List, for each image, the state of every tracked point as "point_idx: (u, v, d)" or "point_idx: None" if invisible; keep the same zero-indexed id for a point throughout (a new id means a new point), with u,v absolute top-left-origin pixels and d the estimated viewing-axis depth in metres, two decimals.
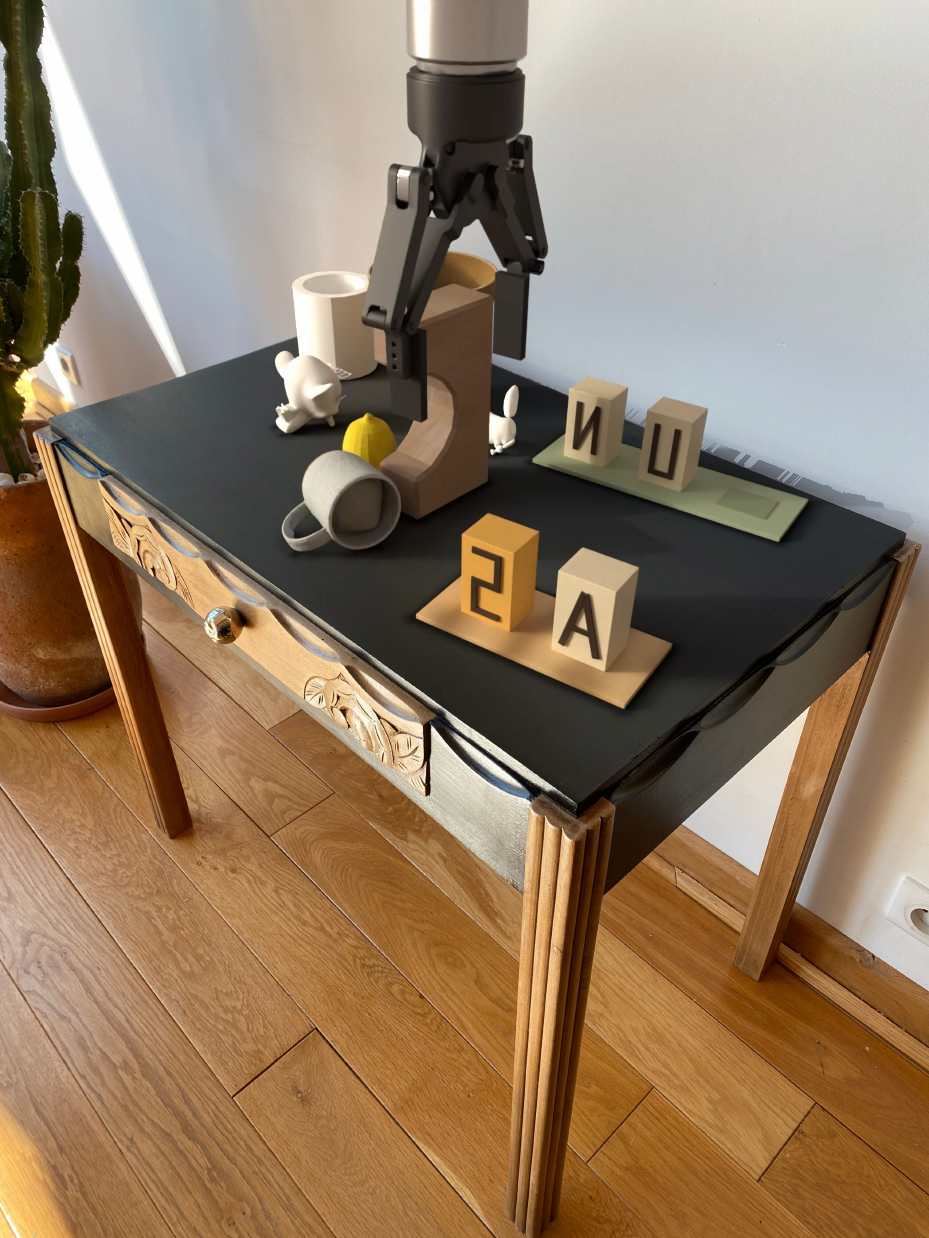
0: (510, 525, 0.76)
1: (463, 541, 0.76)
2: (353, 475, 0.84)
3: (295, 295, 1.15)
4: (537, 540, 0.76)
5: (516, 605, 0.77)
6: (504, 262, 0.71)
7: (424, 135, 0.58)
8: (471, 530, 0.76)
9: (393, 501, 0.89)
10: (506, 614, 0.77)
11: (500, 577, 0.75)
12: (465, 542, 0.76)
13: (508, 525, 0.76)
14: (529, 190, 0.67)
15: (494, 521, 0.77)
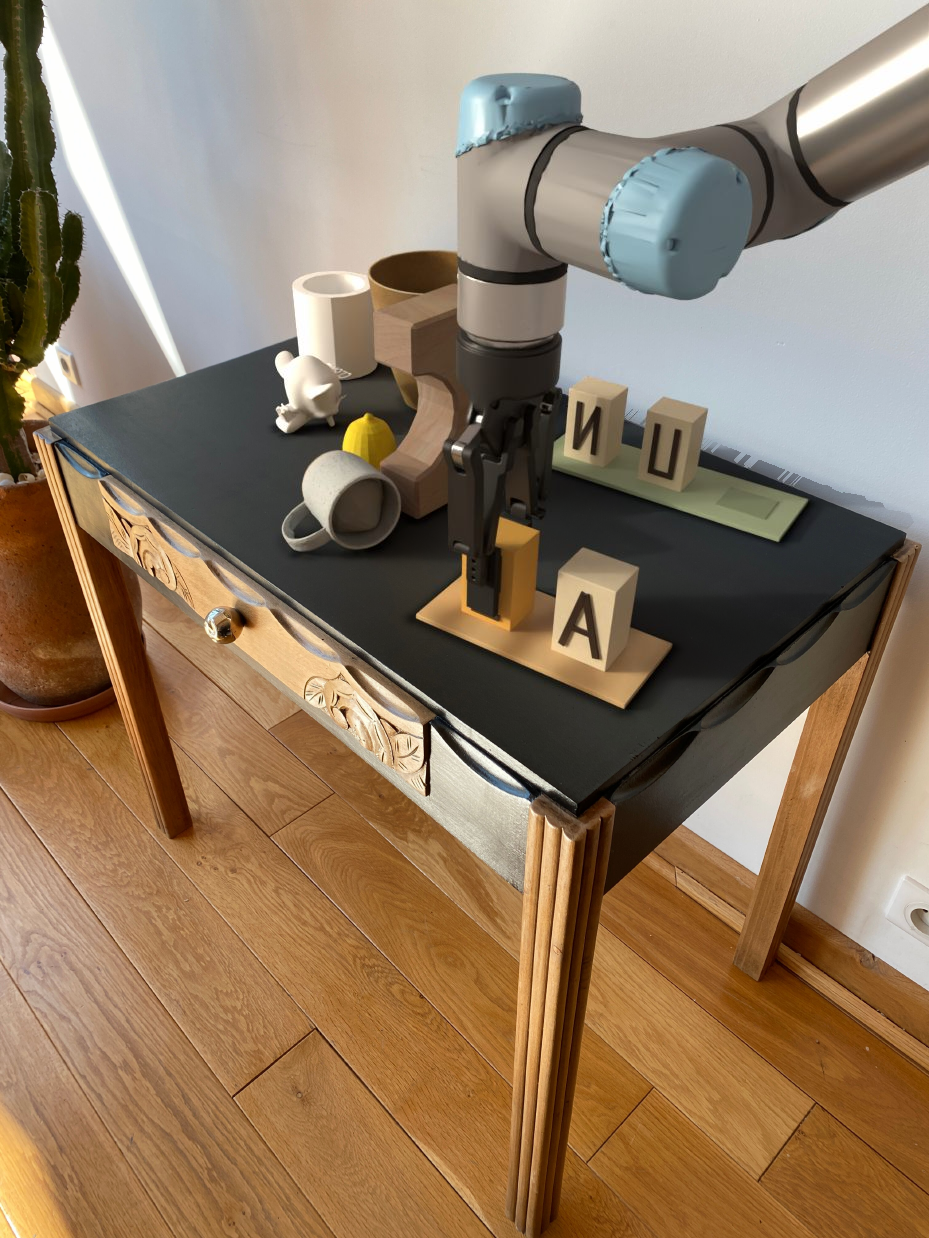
0: (511, 525, 0.76)
1: None
2: (353, 476, 0.84)
3: (295, 295, 1.15)
4: (537, 540, 0.76)
5: (516, 604, 0.77)
6: (510, 502, 0.77)
7: (472, 392, 0.65)
8: None
9: (393, 501, 0.89)
10: (506, 614, 0.77)
11: (501, 577, 0.75)
12: None
13: (509, 525, 0.76)
14: (549, 434, 0.74)
15: None
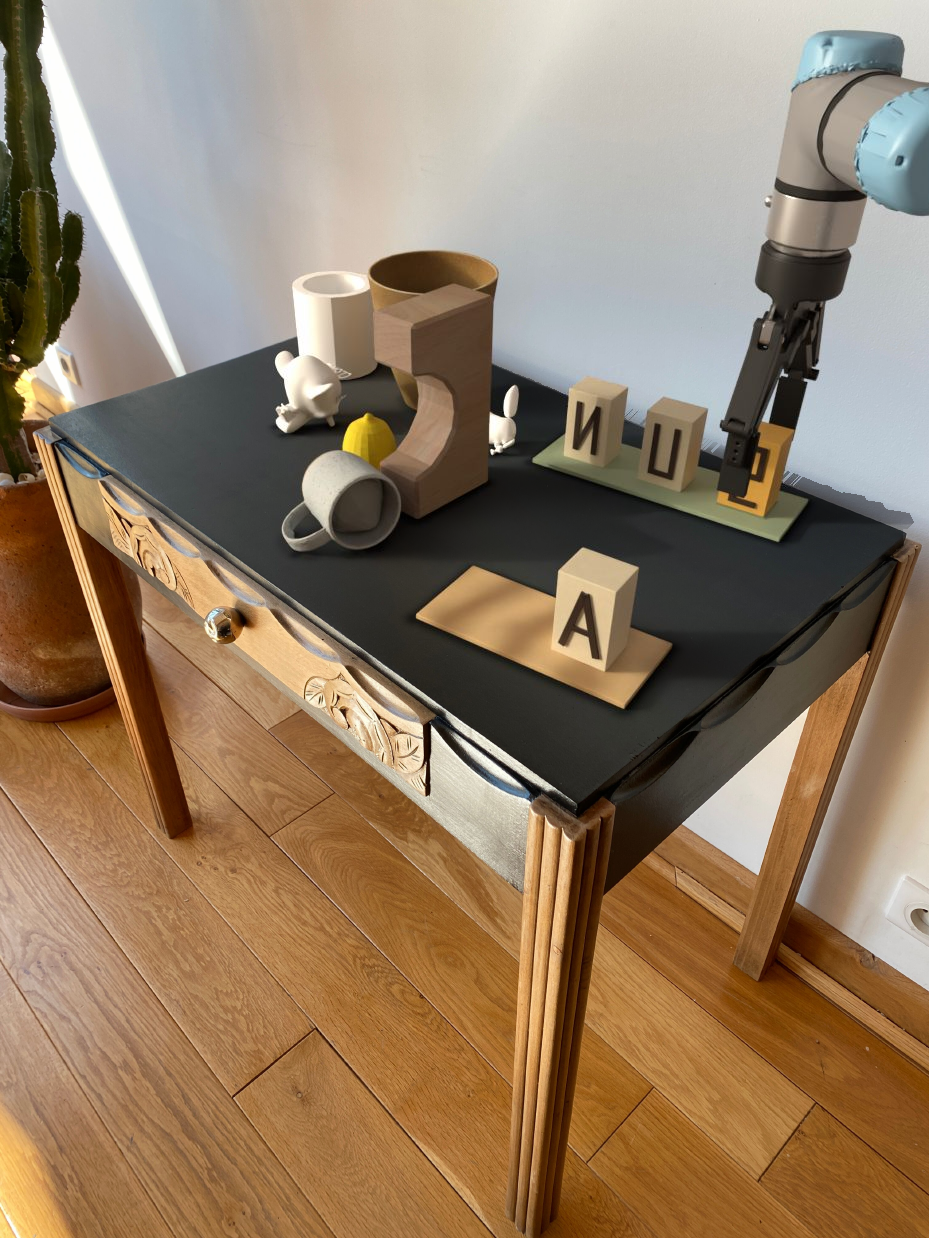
0: (768, 425, 0.91)
1: None
2: (353, 476, 0.84)
3: (295, 295, 1.15)
4: (792, 438, 0.91)
5: (771, 493, 0.92)
6: (787, 370, 0.93)
7: (777, 296, 0.79)
8: None
9: (393, 501, 0.89)
10: (763, 501, 0.92)
11: (763, 468, 0.90)
12: None
13: (767, 425, 0.91)
14: (820, 321, 0.88)
15: None
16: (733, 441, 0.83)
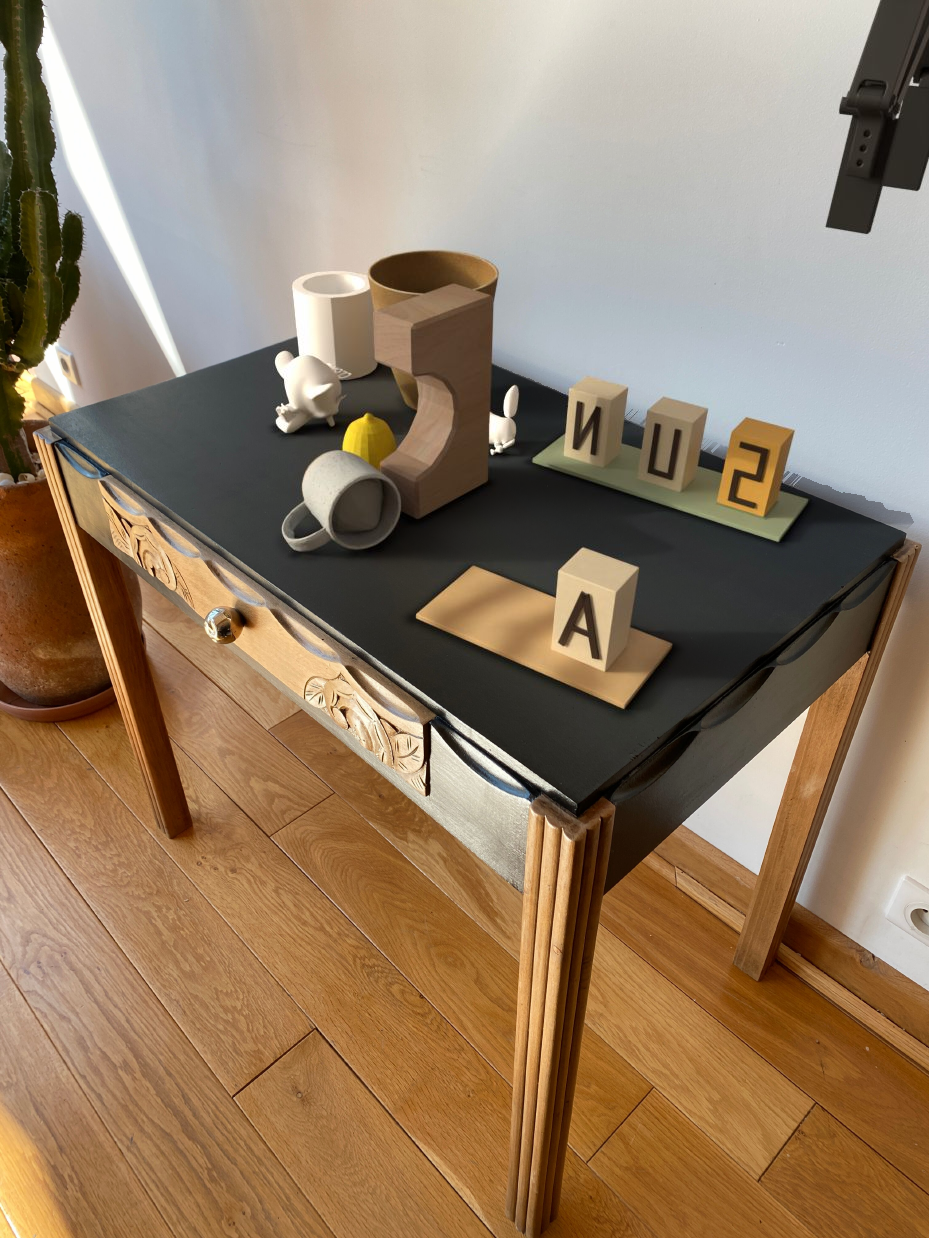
0: (768, 425, 0.91)
1: (731, 438, 0.90)
2: (353, 476, 0.84)
3: (295, 295, 1.15)
4: (792, 438, 0.91)
5: (771, 493, 0.92)
6: (920, 73, 0.65)
7: None
8: (738, 429, 0.91)
9: (393, 501, 0.89)
10: (763, 501, 0.92)
11: (763, 468, 0.90)
12: (733, 439, 0.90)
13: (767, 425, 0.91)
14: None
15: (754, 423, 0.92)
16: (860, 131, 0.55)
